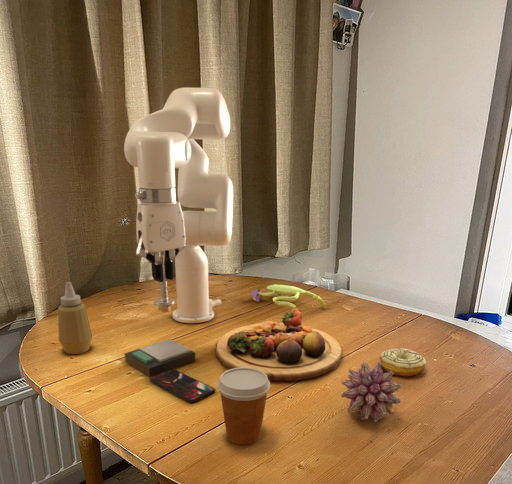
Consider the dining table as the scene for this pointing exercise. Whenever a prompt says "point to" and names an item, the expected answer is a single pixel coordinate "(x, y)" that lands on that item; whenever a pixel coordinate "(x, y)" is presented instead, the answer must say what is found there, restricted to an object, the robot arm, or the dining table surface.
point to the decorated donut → (402, 361)
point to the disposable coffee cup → (243, 403)
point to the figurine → (285, 294)
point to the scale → (159, 357)
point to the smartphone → (182, 385)
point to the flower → (371, 391)
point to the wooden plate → (280, 349)
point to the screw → (164, 291)
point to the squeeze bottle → (73, 323)
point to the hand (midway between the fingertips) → (163, 279)
